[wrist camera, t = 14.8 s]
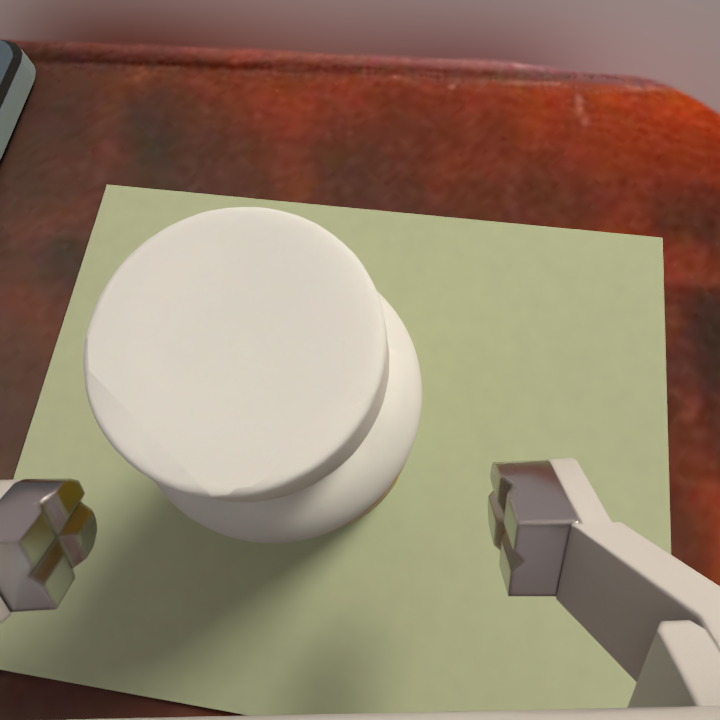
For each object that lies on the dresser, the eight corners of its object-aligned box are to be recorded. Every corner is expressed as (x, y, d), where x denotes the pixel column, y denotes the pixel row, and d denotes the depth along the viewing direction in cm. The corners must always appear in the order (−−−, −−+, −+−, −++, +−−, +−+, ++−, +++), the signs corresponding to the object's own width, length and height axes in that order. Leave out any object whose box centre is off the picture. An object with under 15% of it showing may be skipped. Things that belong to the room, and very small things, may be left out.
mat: (659, 240, 17) (662, 237, 17) (673, 790, 13) (678, 795, 13) (109, 187, 19) (106, 184, 19) (-40, 659, 14) (-46, 661, 14)
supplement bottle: (367, 556, 15) (338, 651, 5) (207, 484, 15) (-61, 459, 6) (431, 390, 16) (498, 233, 7) (280, 331, 17) (151, 119, 7)
